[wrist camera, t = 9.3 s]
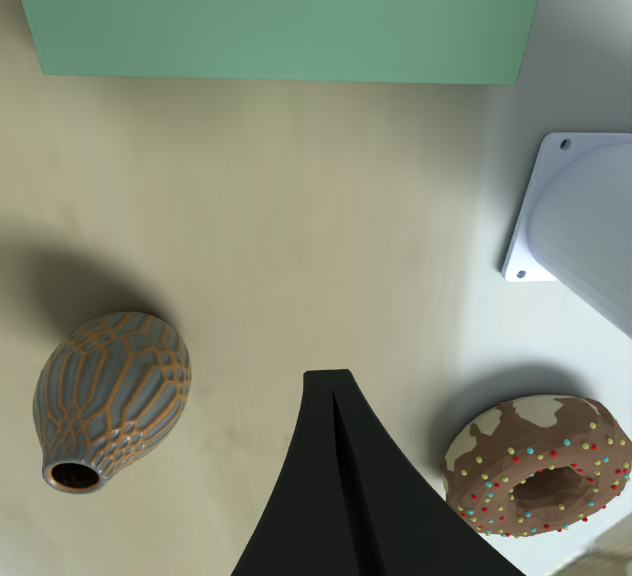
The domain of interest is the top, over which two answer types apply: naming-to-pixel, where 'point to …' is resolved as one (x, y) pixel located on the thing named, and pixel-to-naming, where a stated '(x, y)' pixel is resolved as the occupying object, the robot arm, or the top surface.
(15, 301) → the top surface
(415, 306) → the top surface
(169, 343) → the vase
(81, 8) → the board
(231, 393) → the top surface
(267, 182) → the top surface
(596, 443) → the donut
